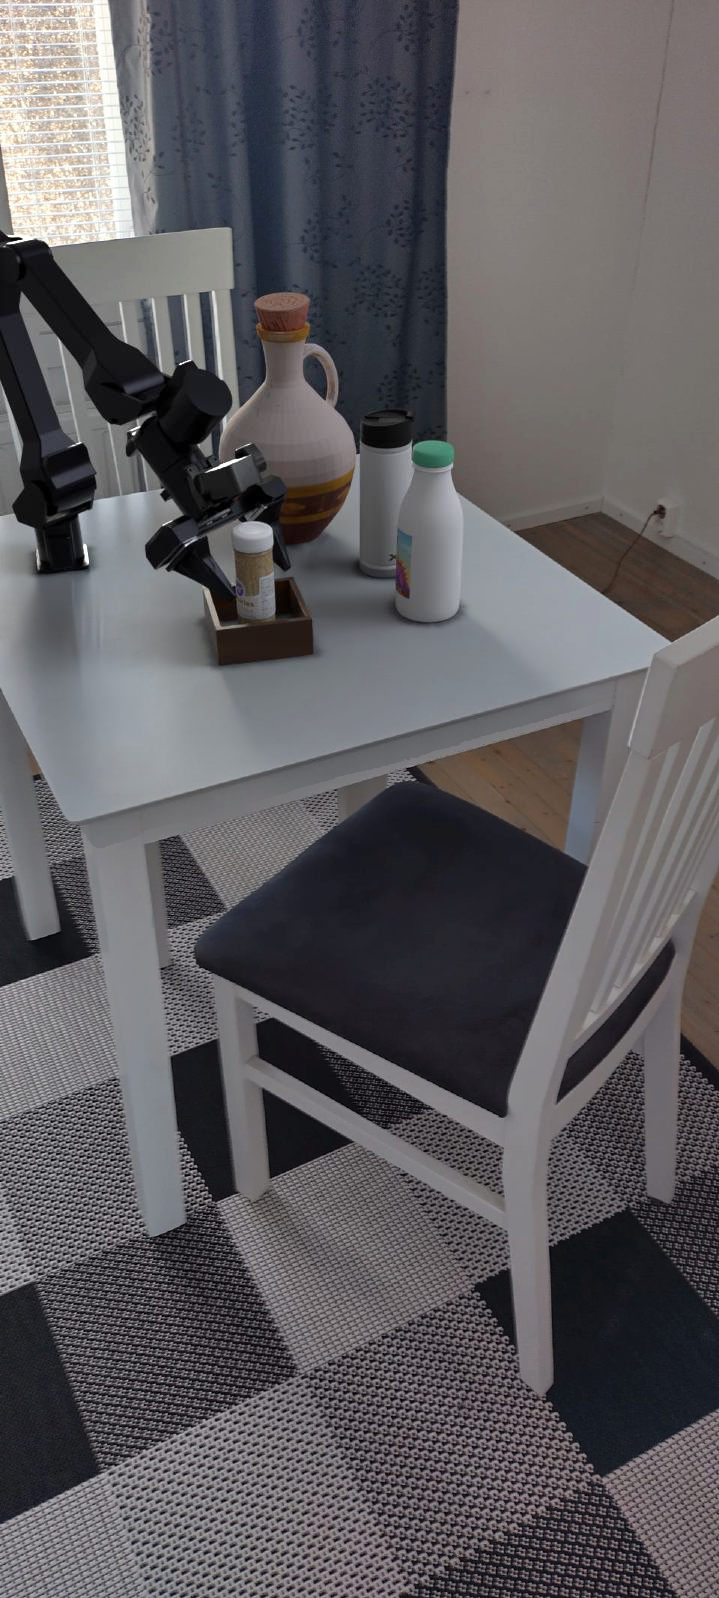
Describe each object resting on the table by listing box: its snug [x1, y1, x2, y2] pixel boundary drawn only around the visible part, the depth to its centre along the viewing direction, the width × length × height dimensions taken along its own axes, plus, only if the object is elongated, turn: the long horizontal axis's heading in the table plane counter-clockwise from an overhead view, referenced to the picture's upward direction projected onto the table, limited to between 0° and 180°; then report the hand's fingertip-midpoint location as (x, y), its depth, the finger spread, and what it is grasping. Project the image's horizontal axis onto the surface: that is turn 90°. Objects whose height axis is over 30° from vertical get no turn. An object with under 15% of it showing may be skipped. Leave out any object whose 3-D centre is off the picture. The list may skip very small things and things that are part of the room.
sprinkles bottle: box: [230, 521, 276, 625], centre depth 132 cm, size 5×5×13 cm
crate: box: [201, 576, 314, 667], centre depth 135 cm, size 11×11×4 cm
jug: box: [218, 291, 357, 546], centre depth 151 cm, size 20×18×30 cm
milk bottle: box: [394, 440, 464, 623], centre depth 136 cm, size 8×8×20 cm
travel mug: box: [359, 408, 417, 579], centre depth 145 cm, size 6×7×20 cm
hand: (262, 584), depth 131 cm, fingers open, 9 cm apart
